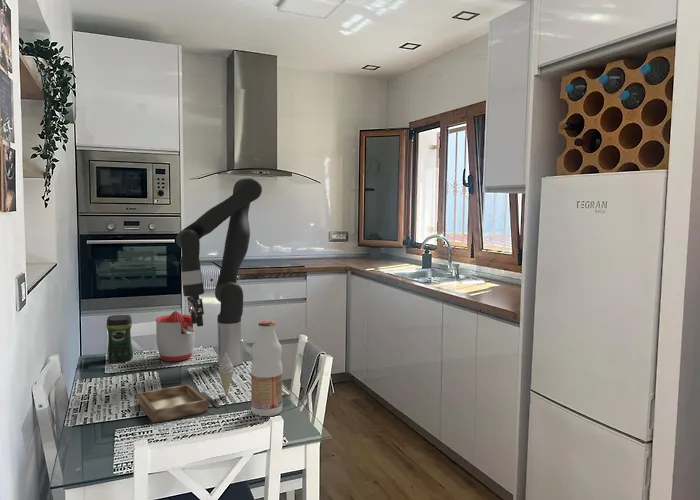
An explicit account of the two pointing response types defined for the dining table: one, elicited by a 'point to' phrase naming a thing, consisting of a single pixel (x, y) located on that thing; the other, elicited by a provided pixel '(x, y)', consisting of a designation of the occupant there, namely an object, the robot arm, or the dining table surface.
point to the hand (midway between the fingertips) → (197, 324)
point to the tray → (174, 402)
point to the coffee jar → (119, 338)
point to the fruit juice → (266, 372)
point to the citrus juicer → (175, 336)
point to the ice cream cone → (226, 372)
